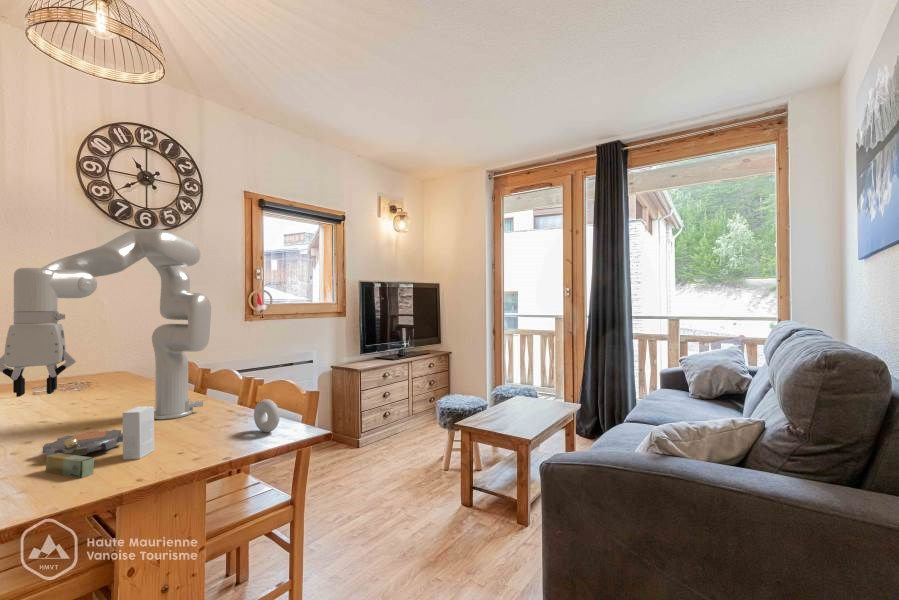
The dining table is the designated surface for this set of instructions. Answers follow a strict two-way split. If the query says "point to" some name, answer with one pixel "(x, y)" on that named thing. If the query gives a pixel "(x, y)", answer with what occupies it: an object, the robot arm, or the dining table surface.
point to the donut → (272, 414)
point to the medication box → (70, 465)
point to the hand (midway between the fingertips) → (35, 393)
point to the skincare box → (138, 432)
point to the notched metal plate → (84, 443)
